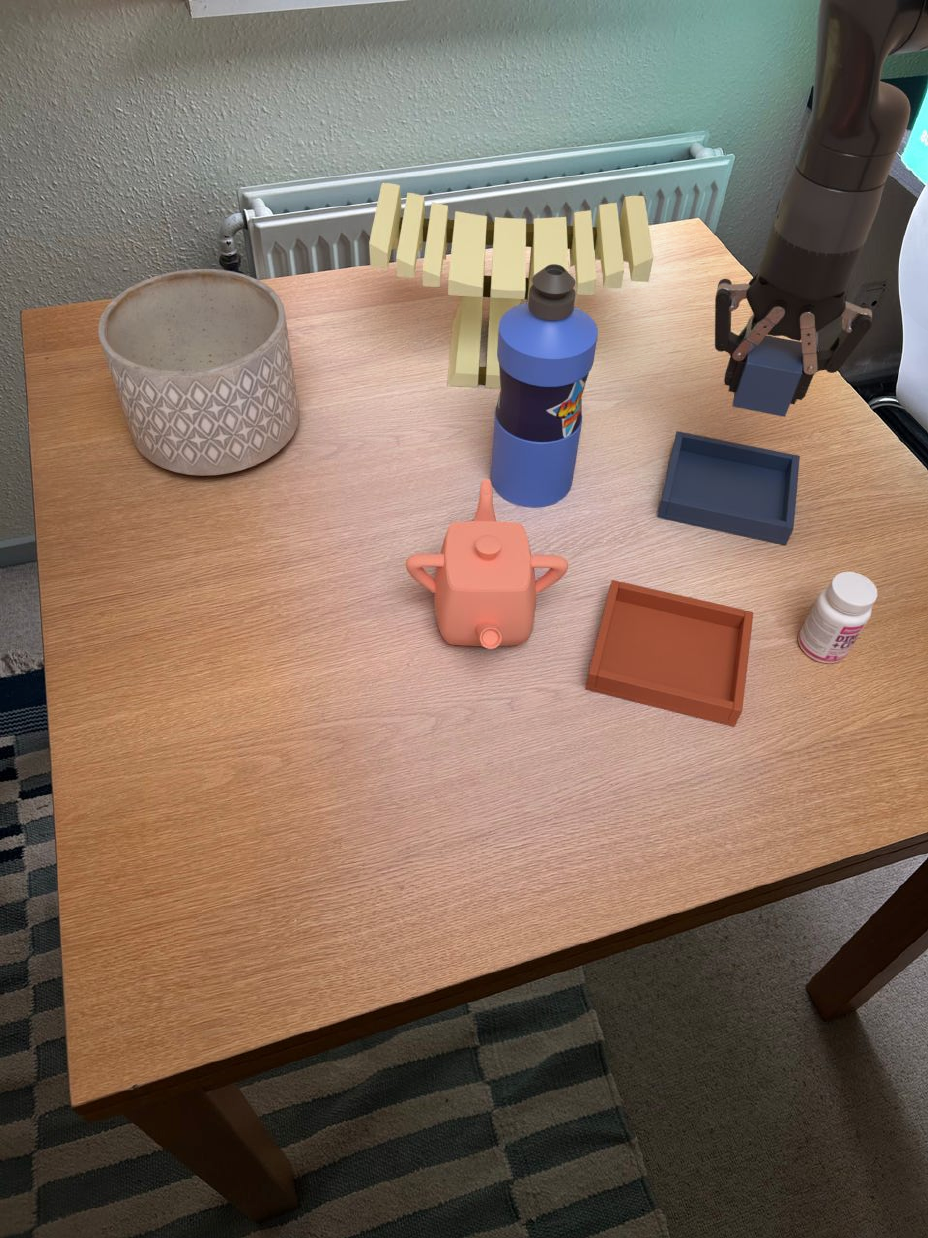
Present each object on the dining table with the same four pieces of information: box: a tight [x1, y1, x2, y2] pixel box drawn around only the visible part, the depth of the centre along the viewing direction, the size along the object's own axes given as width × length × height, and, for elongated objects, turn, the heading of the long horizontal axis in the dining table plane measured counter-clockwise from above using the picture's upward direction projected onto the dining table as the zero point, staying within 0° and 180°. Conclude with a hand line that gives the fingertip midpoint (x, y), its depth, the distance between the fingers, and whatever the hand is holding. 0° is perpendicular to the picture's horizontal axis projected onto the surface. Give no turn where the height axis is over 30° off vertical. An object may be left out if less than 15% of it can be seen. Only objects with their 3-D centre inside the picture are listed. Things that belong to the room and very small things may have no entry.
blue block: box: [732, 335, 803, 418], centre depth 87 cm, size 5×5×5 cm
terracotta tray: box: [584, 579, 754, 728], centre depth 85 cm, size 14×12×3 cm
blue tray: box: [656, 430, 801, 546], centre depth 99 cm, size 14×12×3 cm
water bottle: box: [489, 264, 599, 508], centre depth 91 cm, size 9×9×25 cm
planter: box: [97, 268, 300, 477], centre depth 99 cm, size 19×19×14 cm
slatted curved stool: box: [368, 182, 654, 389], centre depth 108 cm, size 30×16×18 cm, turn 87°
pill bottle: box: [797, 571, 878, 664], centre depth 84 cm, size 5×5×8 cm
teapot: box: [405, 478, 569, 650], centre depth 85 cm, size 14×12×10 cm
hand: (762, 392), depth 89 cm, fingers closed on blue block, 5 cm apart
